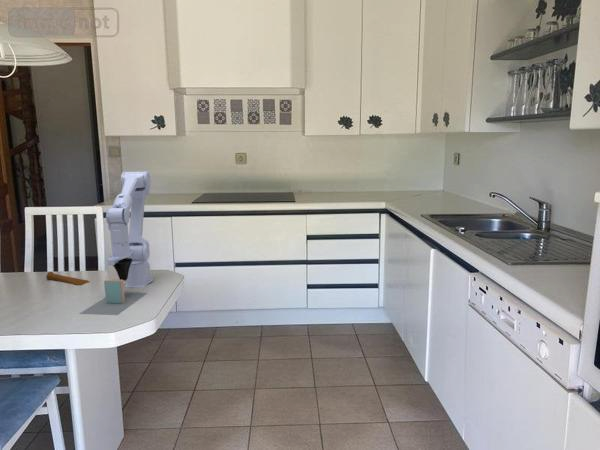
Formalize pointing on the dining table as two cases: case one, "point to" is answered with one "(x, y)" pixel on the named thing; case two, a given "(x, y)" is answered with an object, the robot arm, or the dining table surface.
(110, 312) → the mat
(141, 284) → the robot arm
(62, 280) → the primitive tool
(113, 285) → the tile
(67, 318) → the dining table surface
